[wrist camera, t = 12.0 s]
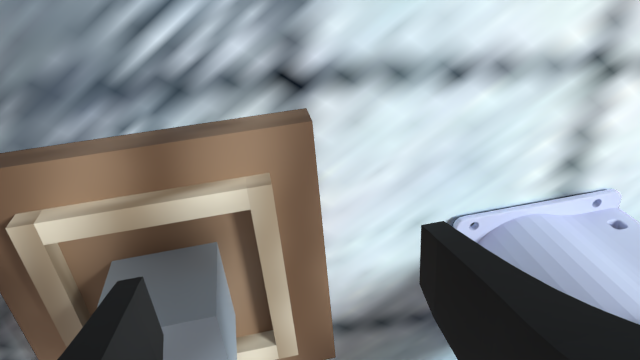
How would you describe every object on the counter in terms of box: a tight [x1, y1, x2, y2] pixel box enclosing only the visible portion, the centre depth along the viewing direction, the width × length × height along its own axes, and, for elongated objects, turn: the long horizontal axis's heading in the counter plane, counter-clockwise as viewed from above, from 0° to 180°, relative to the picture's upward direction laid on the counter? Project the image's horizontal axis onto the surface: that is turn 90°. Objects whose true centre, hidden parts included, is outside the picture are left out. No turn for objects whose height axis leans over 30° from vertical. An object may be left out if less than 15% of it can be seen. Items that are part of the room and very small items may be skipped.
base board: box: [0, 108, 335, 360], centre depth 21 cm, size 14×14×2 cm
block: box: [97, 242, 237, 360], centre depth 19 cm, size 4×4×4 cm
